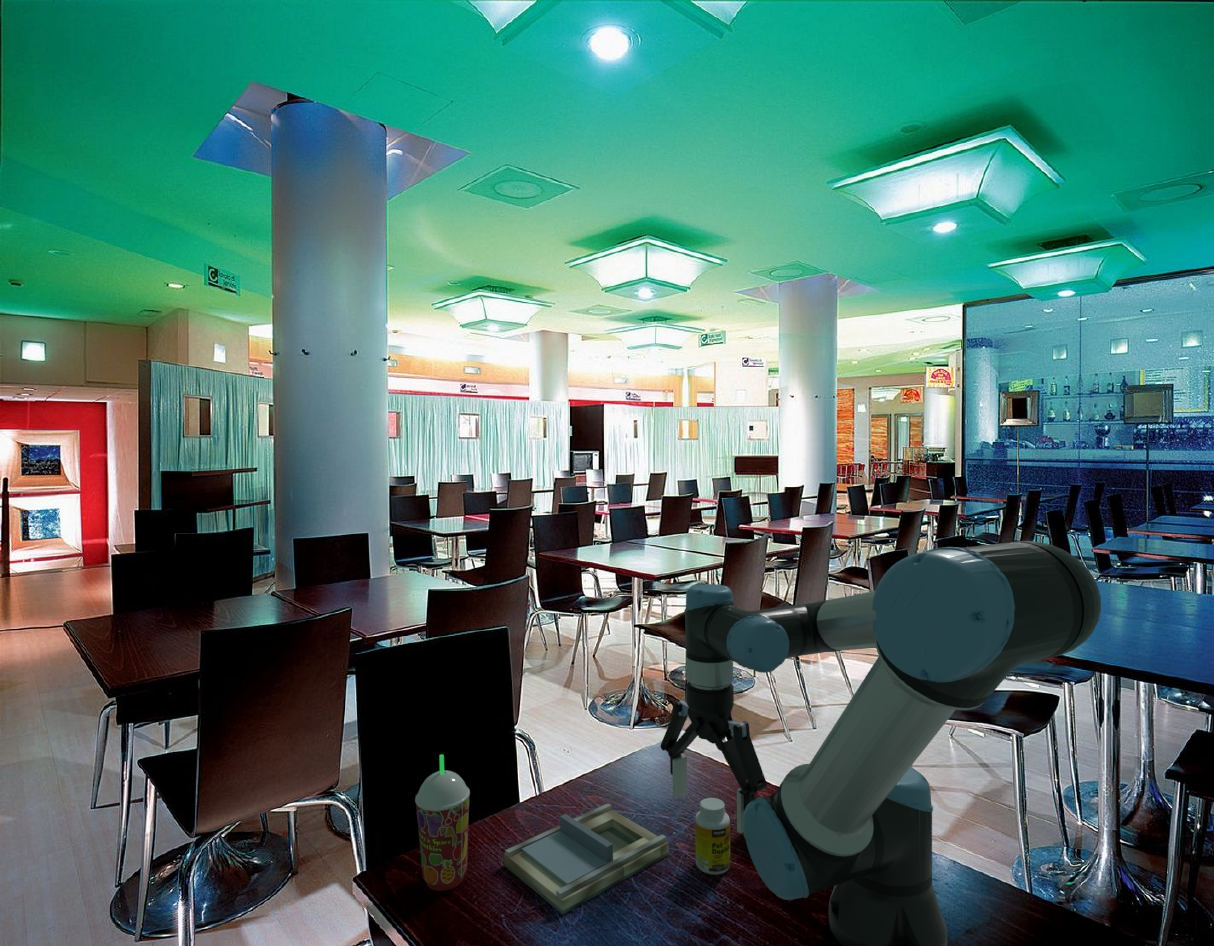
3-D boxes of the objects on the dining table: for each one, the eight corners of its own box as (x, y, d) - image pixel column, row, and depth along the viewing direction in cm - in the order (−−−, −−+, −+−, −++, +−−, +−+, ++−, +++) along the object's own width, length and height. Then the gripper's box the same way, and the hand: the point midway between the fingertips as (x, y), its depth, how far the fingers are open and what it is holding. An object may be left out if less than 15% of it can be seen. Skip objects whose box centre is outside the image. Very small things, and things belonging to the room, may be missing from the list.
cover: (565, 831, 117) (565, 813, 117) (613, 863, 108) (612, 843, 108) (521, 851, 112) (521, 833, 112) (567, 887, 102) (567, 867, 102)
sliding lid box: (606, 816, 126) (606, 801, 126) (669, 854, 114) (668, 837, 114) (504, 865, 112) (503, 848, 112) (563, 914, 99) (562, 895, 99)
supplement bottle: (712, 880, 106) (710, 816, 106) (688, 863, 111) (687, 801, 111) (738, 868, 110) (737, 805, 109) (714, 851, 114) (713, 791, 114)
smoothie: (406, 890, 106) (402, 762, 105) (438, 860, 113) (435, 741, 113) (452, 902, 103) (448, 770, 102) (482, 870, 110) (478, 748, 110)
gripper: (789, 697, 103) (790, 835, 103) (670, 659, 121) (671, 776, 122) (758, 710, 98) (759, 855, 99) (639, 668, 117) (640, 790, 118)
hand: (710, 811), depth 110 cm, fingers open, 13 cm apart
